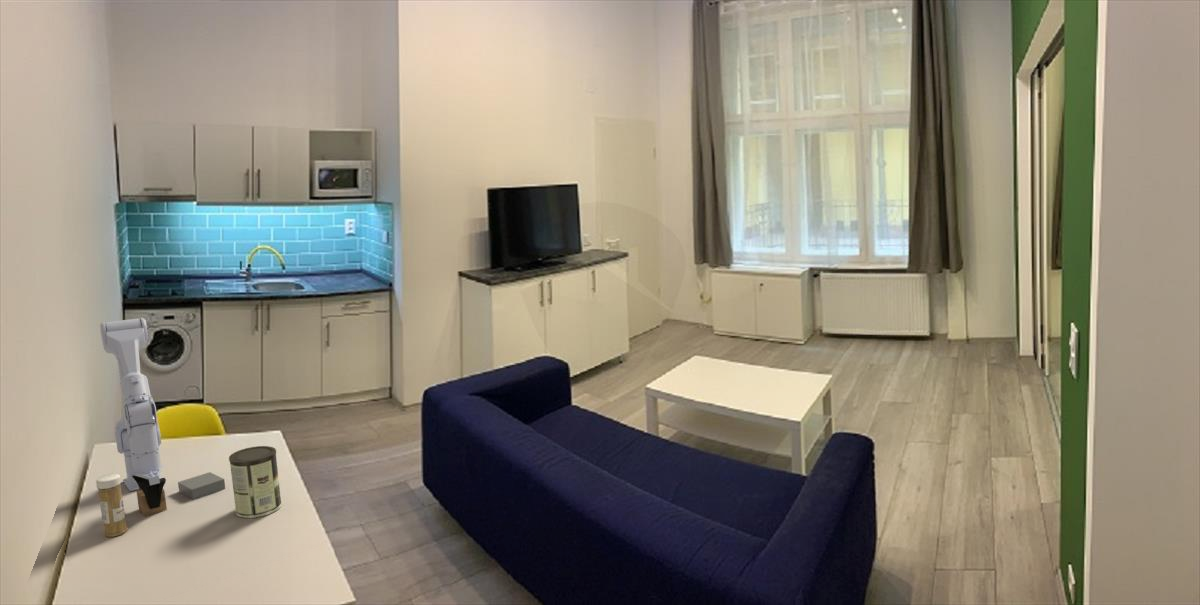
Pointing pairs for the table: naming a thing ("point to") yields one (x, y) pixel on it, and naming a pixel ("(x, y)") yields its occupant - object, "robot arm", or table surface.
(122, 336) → the robot arm
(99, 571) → the table surface
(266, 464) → the coffee can
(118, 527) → the sprinkles bottle
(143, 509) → the walnut cube
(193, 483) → the slate slab
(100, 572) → the table surface
